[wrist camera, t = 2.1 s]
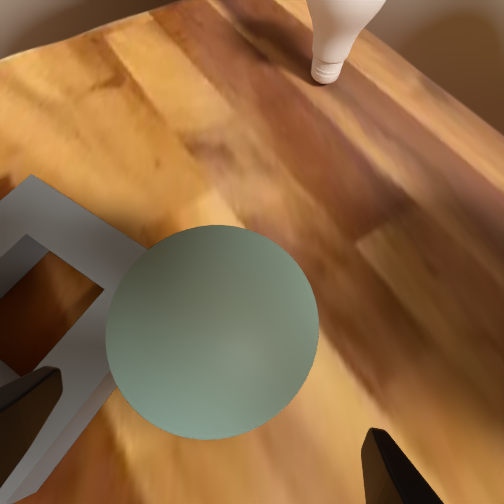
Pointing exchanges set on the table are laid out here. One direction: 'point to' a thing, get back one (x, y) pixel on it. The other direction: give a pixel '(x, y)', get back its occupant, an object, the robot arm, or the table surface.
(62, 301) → the table surface
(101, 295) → the holder board
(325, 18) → the lightbulb
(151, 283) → the peg
